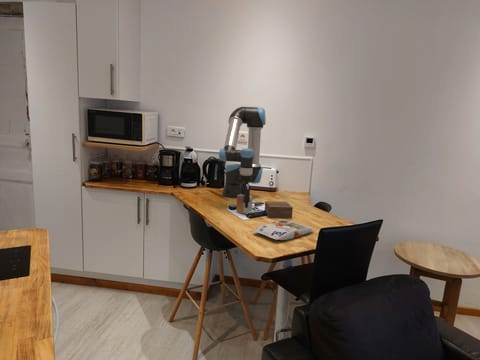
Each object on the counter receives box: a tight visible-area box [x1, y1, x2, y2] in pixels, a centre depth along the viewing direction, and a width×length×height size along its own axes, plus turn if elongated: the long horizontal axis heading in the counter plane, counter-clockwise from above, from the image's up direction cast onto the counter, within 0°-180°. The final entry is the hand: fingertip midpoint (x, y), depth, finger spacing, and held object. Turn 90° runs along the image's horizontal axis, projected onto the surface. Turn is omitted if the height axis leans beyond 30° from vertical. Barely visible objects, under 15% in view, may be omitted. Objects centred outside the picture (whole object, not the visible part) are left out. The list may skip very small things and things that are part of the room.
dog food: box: [252, 219, 315, 241], centre depth 185 cm, size 30×18×5 cm, turn 133°
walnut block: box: [264, 201, 294, 220], centre depth 219 cm, size 14×14×7 cm
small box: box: [235, 194, 253, 215], centre depth 220 cm, size 8×6×10 cm
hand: (243, 210), depth 221 cm, fingers closed on small box, 9 cm apart
